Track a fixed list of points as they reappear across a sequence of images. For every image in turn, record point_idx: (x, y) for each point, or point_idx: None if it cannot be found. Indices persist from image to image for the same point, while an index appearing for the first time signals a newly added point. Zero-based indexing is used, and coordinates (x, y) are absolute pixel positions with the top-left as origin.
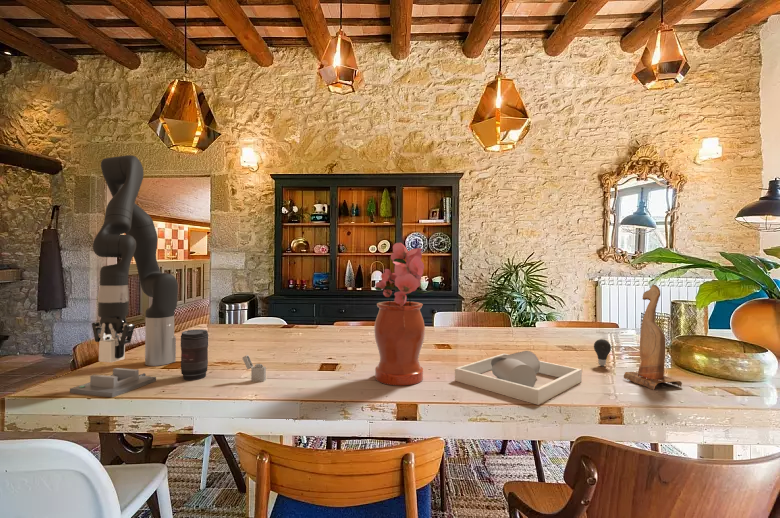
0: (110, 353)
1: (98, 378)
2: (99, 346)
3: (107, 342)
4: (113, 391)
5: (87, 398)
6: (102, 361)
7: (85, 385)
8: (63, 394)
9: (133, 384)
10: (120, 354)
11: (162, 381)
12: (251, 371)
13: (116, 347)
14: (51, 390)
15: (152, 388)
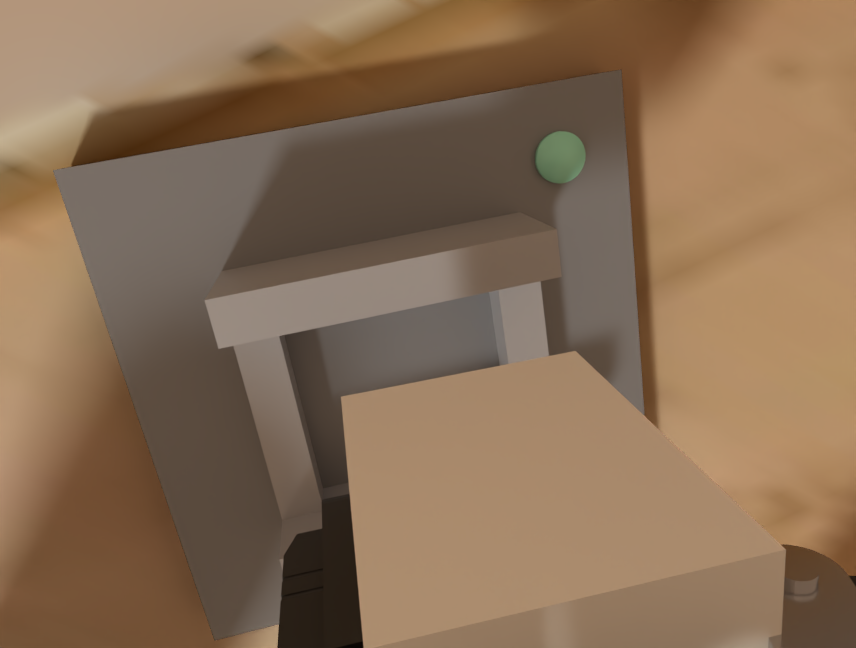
0: (357, 468)
1: (432, 248)
2: (693, 473)
3: (499, 602)
4: (103, 207)
5: (270, 40)
6: (503, 366)
7: (577, 199)
8: (612, 17)
9: (167, 426)
10: (286, 570)
11: (153, 633)
12: None
13: (331, 626)
14: (827, 44)
15: (14, 492)
